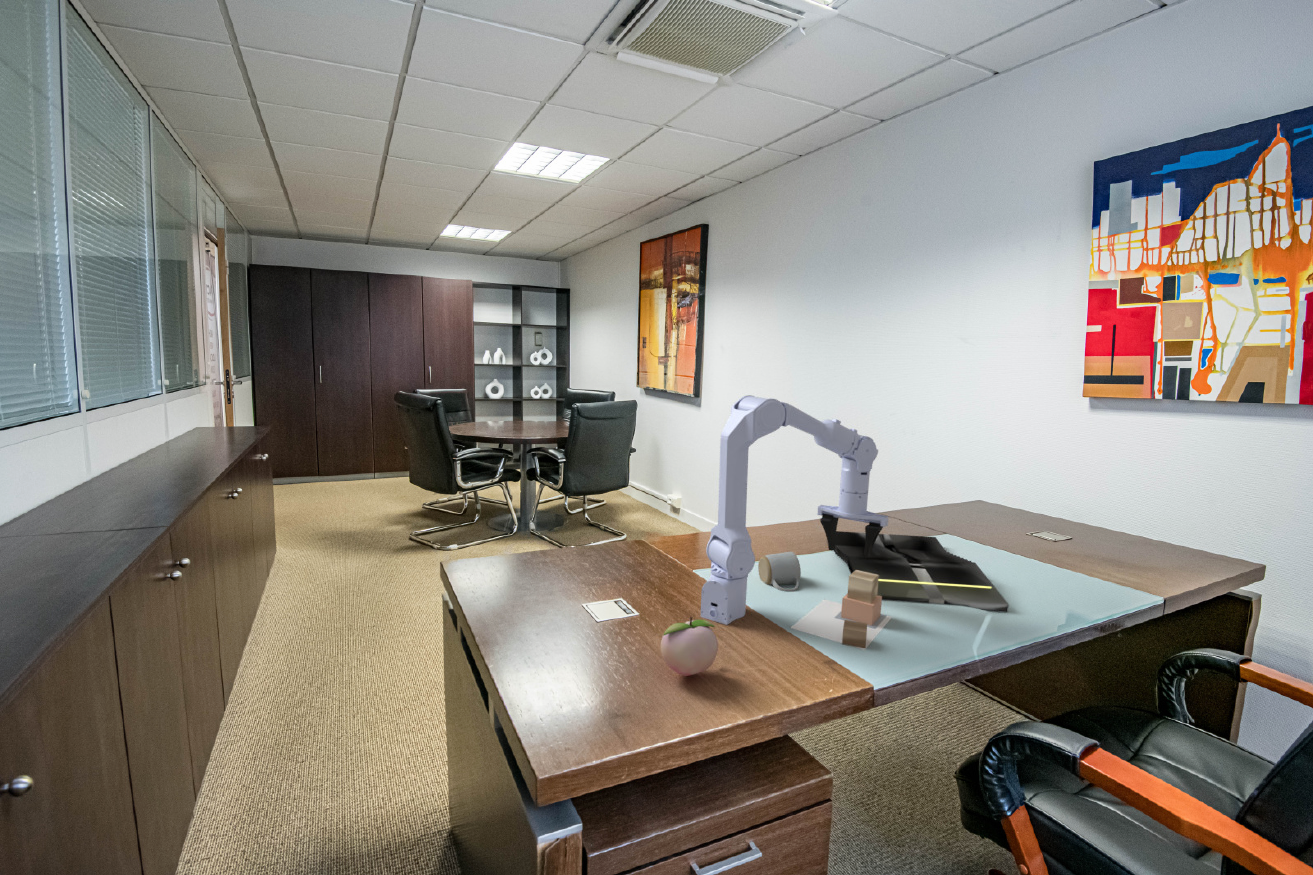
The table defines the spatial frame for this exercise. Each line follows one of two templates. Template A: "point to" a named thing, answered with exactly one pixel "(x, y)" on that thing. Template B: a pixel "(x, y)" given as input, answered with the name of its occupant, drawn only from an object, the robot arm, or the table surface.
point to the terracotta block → (861, 610)
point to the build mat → (834, 623)
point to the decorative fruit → (689, 646)
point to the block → (854, 634)
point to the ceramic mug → (780, 570)
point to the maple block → (862, 586)
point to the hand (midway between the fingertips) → (849, 553)
